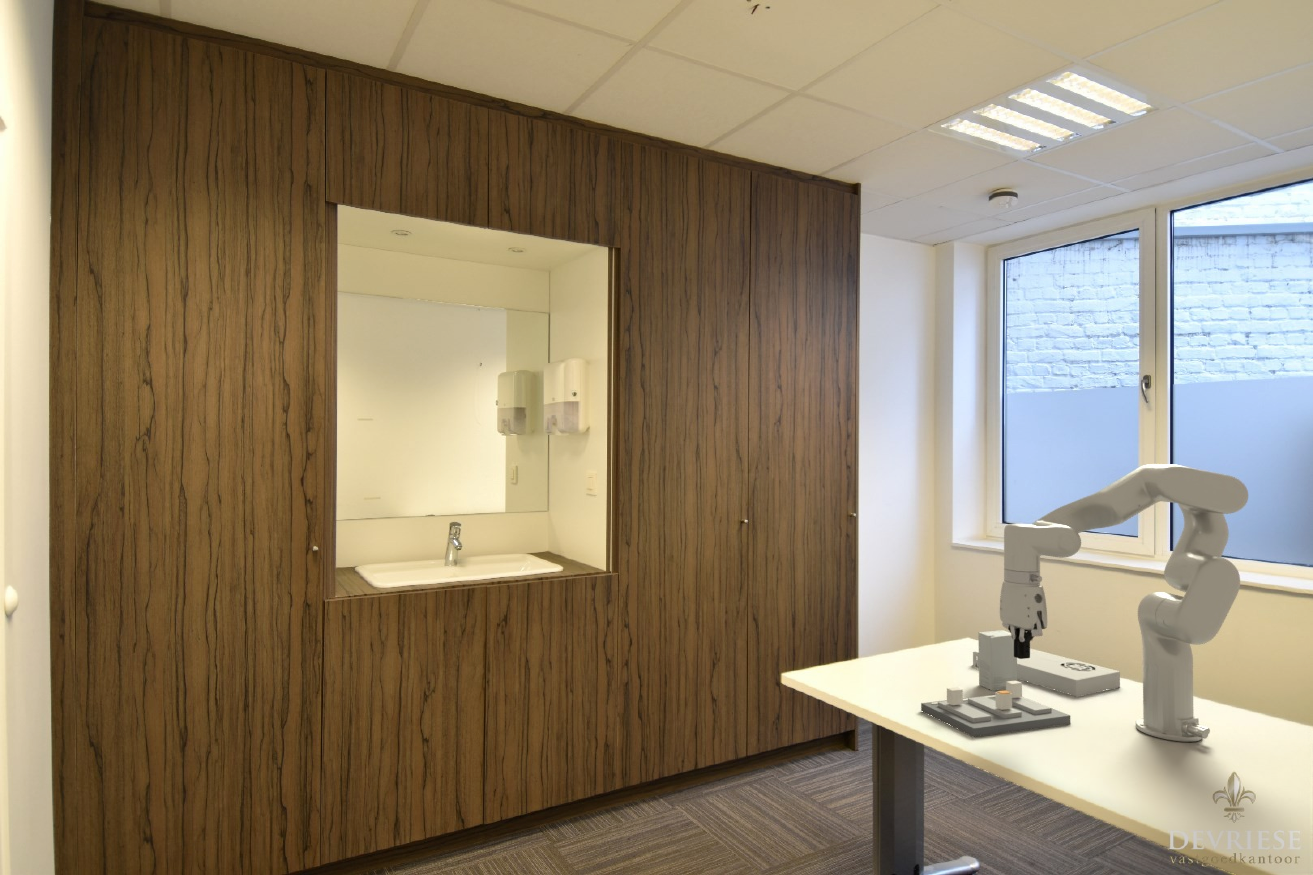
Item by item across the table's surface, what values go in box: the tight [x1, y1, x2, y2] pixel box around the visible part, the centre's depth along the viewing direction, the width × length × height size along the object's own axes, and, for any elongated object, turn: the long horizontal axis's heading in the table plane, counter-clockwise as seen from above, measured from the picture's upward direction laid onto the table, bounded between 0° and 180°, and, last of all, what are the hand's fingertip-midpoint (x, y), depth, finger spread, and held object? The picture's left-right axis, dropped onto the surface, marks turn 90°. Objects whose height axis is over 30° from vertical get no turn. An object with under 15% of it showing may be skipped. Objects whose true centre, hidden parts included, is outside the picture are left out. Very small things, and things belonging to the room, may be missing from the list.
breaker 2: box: [1005, 680, 1023, 698], centre depth 186 cm, size 2×3×4 cm, turn 109°
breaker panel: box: [920, 694, 1071, 738], centre depth 180 cm, size 18×28×3 cm, turn 109°
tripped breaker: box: [994, 690, 1012, 710], centre depth 177 cm, size 2×3×4 cm, turn 109°
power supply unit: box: [972, 648, 1121, 697], centre depth 215 cm, size 19×33×5 cm, turn 27°
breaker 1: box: [946, 686, 964, 705], centre depth 180 cm, size 2×3×4 cm, turn 109°
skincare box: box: [977, 629, 1018, 692], centre depth 204 cm, size 8×6×15 cm
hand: (1021, 657), depth 172 cm, fingers closed
